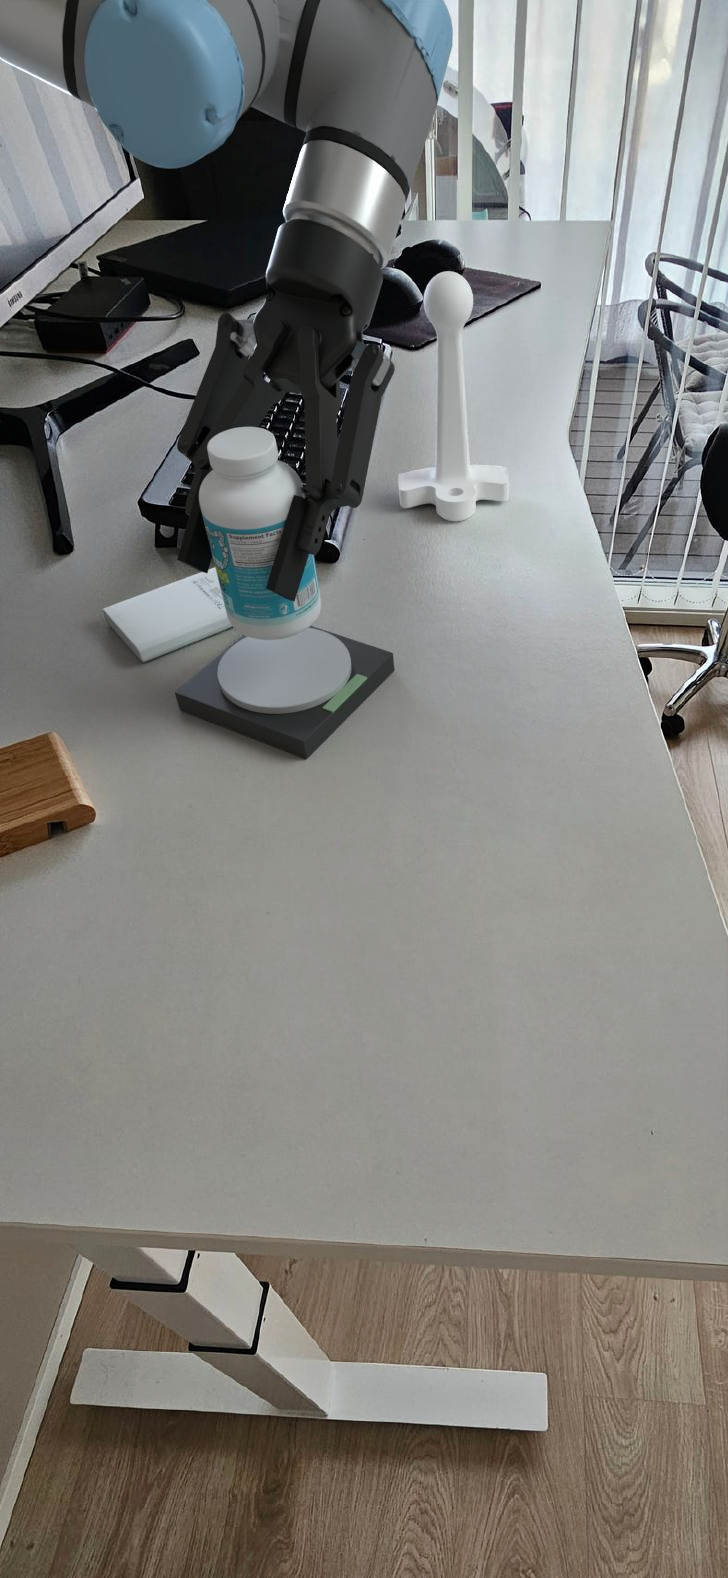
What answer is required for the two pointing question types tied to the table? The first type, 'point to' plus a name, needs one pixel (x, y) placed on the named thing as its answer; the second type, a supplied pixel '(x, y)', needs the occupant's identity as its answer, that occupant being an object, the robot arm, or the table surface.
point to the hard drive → (170, 616)
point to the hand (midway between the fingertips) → (235, 580)
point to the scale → (287, 687)
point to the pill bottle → (254, 533)
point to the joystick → (451, 416)
